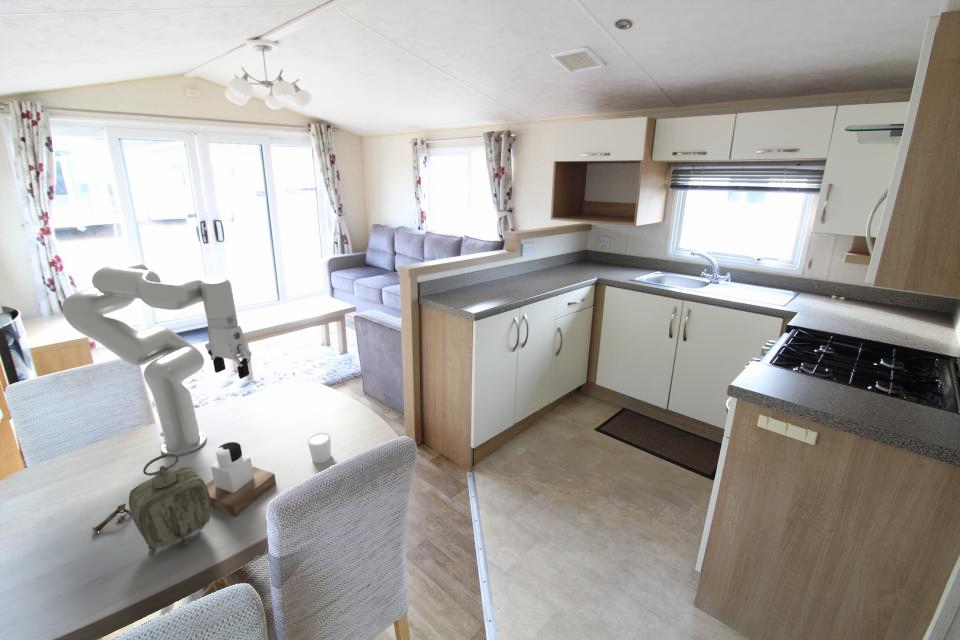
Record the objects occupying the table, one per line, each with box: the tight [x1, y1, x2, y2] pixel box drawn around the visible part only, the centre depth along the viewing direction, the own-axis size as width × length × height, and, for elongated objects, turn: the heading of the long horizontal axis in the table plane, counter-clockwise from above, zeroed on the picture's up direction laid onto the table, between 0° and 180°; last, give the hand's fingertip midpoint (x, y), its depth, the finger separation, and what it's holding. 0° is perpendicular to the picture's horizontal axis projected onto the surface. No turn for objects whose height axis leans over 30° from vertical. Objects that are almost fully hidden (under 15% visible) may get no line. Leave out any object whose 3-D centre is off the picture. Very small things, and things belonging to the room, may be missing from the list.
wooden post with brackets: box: [91, 503, 131, 534], centre depth 116 cm, size 2×8×4 cm, turn 145°
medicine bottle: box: [210, 441, 254, 493], centre depth 124 cm, size 7×7×12 cm
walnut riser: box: [205, 466, 277, 517], centre depth 127 cm, size 14×14×4 cm
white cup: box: [307, 432, 332, 464], centre depth 142 cm, size 7×7×7 cm
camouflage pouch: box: [128, 454, 212, 550], centre depth 107 cm, size 14×9×25 cm, turn 140°
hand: (232, 373), depth 135 cm, fingers open, 9 cm apart
